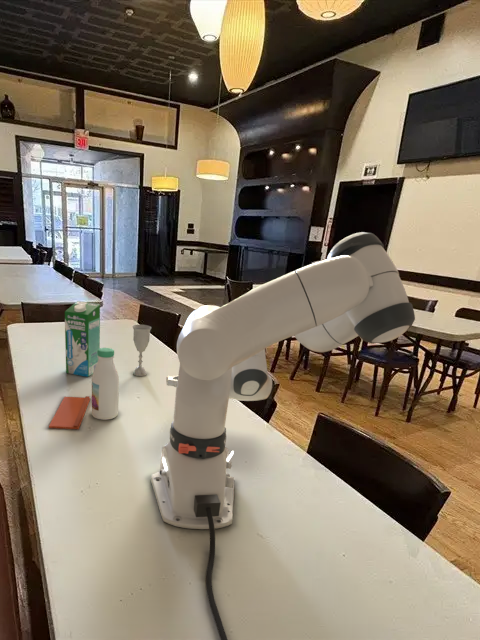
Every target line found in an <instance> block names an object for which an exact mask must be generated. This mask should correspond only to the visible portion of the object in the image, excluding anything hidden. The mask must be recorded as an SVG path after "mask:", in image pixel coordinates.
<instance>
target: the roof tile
mask: <svg viewBox="0 0 480 640" xmlns="http://www.w3.org/2000/svg"><path fill="white" fill-rule="evenodd" d="M90 401H91V397H90V396H88V395H87V396H85V397H80V396H63V399H62V401H61V402H60V404H59V406H58V408H57V410H56V411H55V414H54V415H53V417H52V419H51V421H50V423H49V424H48V429H60V430H61V429H62V430H80V427H81V424H82V422H83V419H84V417H85V414H86V411H87V410H88V406H89V404H90Z"/></svg>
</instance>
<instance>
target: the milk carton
mask: <svg viewBox="0 0 480 640" xmlns="http://www.w3.org/2000/svg"><path fill="white" fill-rule="evenodd" d="M100 330H101V304H100V303H94V302H88V301H80V300H77V301H76V302H75V303H73V304H72V305H71V306H70V307H69V308H67V309H66V310H64V340H65V341H64V343H65V346H64V347H65V373H66V374H70V375H76V376H80V377H86V378H89V377H90V376H92V375H93V372H94V370H95V368H96V365H97V363H98V357H97V356H98V354H97V351H98V349H100V348H101V346H100V345H101V343H100V342H101V331H100Z"/></svg>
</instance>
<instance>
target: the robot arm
mask: <svg viewBox="0 0 480 640" xmlns="http://www.w3.org/2000/svg"><path fill="white" fill-rule="evenodd" d="M415 320H416V315H415V310H414V306H413V303H412V302H410V301H409V297H408V294H407V291H406V288H405V287H404V283H403V281H402V279H401V277H400V272H399V270H398V269H397V267H396V265H395V263H394V261H393V260H392V258H391V257H390V255H389V254H388V252H387V251H386V250H385V245H384V243H383V242H382V241H381V240H380V238H379V237H378V236H377V235H375V234H374V233H372V232H365V231H361V232H360V231H359V232H356V233H355V232H354V233H352V234H350V235H348V236H346V237H344V238H343V239H341V240H339V241H338V242H337V243H335V244H334V246H333V247H332V248H331V250H330V251H329V253H328V255H327V257H326V258H325V259H322V260H319V261H316V262H313V263H309V264H307V265H303V266H302V267H300V268H297V269H295V270H293V271H290V272H288V273H286V274H283V275H281V276H279V277H277V278H275V279H272V280H270V281H267V282H265V283H263V284H260V285H258V286H256V287H254V288H252V289H251V290H249V291H248V292H245V293H244V294H241V296H239V297H237V298H235V299H233V300H231V301H230V302H228V303H226V304H224V305H222V306H218V305H214V304H213V305H212V304H207V305H203V306H200V307H198V308H196V309H194V310H193V311H192V312H191V313H190V314H189V315H188V317H187V318H186V321H185V322H184V323H183V324H184V325H183V326H182V329H181V331H180V333H179V334H178V338H177V341H176V353H177V359H178V362H179V367H178V368H179V369H178V374H177V375H168V376H166V378H165V379H166V386H167V387H174V388H175V397H174V407H173V409H174V410H173V420H172V421H171V424H170V428H169V441H168V442H167V443H166V444H164V445H162V448H161V454H160V455H161V457H160V467H159V471H157V472H154V473H152V474H151V477H150V483H151V486H152V489H153V492H154V496H155V500H156V503H157V506H158V510H159V512H160V517H161V519H162V521H163V522H164V523H167V524H168V525H171V526H174V527H177V528H183V529H191V530H209V554H208V560H207V561H208V562H207V567H206V572H205V588H206V595H207V599H208V603H209V607H210V610H211V613H212V617H213V618H214V622H215V627H216V629H217V632H218V635H219V638H220V640H229V639H228V636H227V633H226V630H225V627H224V624H223V621H222V618H221V615H220V612H219V610H218V606H217V603H216V599H215V596H214V595H215V594H214V589H213V569H214V564H215V559H216V558H215V557H216V532H215V530H216V529H222V528H225V527H228V526H230V525H232V524H233V520H234V519H233V518H234V496H235V477H234V476H231V474H229V473H227V469H230V470H231V469H232V461H230V460H231V458H232V457H233V455H234V450H232V451H231V452H230V449H228V448H227V447H226V442H227V428H226V422H227V413H228V407H229V399H230V400H231V399H232V400H235V401H239V402H240V401H241V402H243V401H244V402H254V401H255V402H256V401H262V400H263V401H264V400H266V399H268V398H269V397H270V395H271V393H272V390H273V379H272V376H271V375H270V374H269V371H268V362H267V357H266V355H267V354H266V349H267V348H269V347H271V346H273V345H275V344H277V343H279V342H282V341H283V340H287V339H289V338H291V337H293V336H294V338H295V339H296V340H297V342H299V344H301V345H302V346H303V347H304V348H306V349H307V350H310V351H312V352H316V353H327V352H330V351H332V350H335V349H338V348H339V347H341V346H343V345H345V344H347V343H348V342H350V341H352V340H354V339H355V338H357V337H359V338H360V339H361V340H362V341H363V342H366V343H369V344H381V343H388V342H391V341H393V340H395V339H397V338H399V337H400V336H402V335H404V333H405V332H407V331H408V330H410V329H411V328H412V327H413V324H414V322H415ZM229 453H230V454H229Z"/></svg>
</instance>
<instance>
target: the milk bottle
mask: <svg viewBox="0 0 480 640" xmlns="http://www.w3.org/2000/svg"><path fill="white" fill-rule="evenodd" d="M97 354H98V356H97V357H98V363H97V365H96V368H95V370H94V372H93V374H92V375H91V415H92V416H93V418H95V419H98V420H102V421H103V420H104V421H105V420H113V419H115V418H117V417H118V415H119V400H120V399H119V398H120V378H119V377H120V376H119V373H118V370H117V367H116V365H115V362H114V361H115V360H114V358H115V349H114V348H112V347H100V349H98V351H97Z"/></svg>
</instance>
